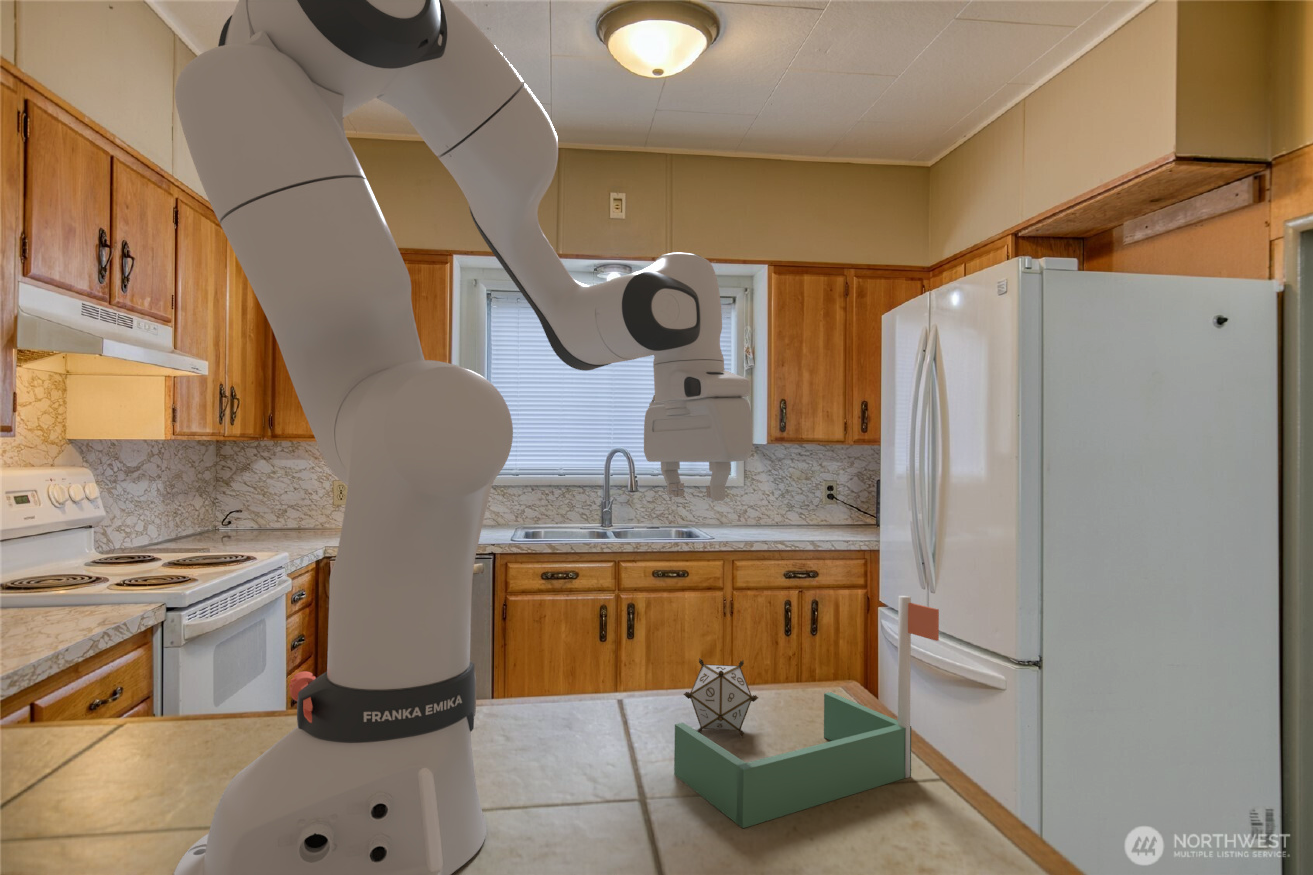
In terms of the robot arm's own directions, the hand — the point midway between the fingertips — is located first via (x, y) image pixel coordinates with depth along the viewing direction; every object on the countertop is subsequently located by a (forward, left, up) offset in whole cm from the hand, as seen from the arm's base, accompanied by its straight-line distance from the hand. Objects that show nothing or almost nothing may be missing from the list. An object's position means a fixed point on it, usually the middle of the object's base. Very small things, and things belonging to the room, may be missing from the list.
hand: (695, 498), depth 87 cm
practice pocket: (0, -20, -27) cm, 34 cm away
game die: (0, -6, -27) cm, 28 cm away
